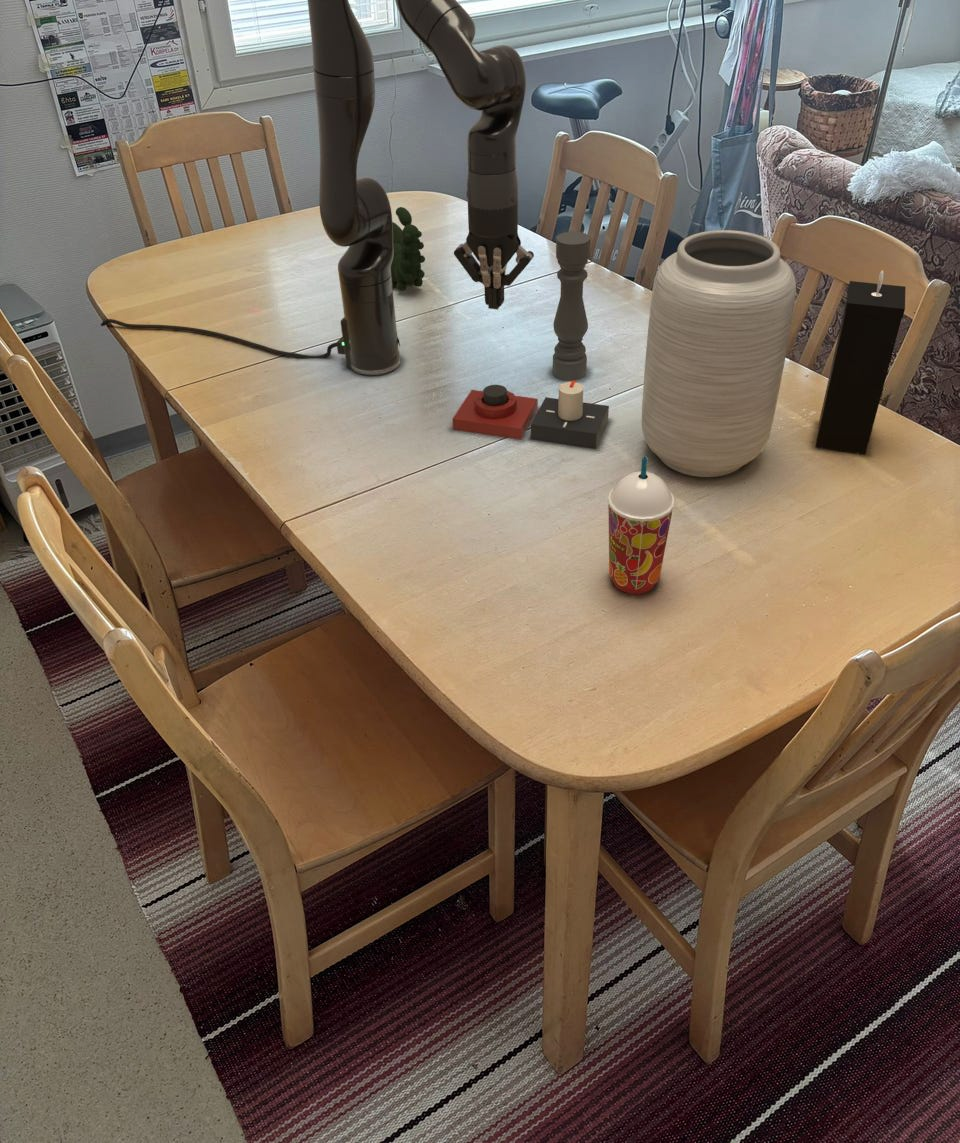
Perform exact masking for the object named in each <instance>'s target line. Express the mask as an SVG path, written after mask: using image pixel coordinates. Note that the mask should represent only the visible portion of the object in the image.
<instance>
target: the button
mask: <svg viewBox="0 0 960 1143" xmlns="http://www.w3.org/2000/svg"><path fill="white" fill-rule="evenodd" d="M482 391H483V400H484V403H485V404H486V405H488V406H501V405H504V404H506V403H507V391H508V389H507V387H505V385H502V384H489V385H486V386H485V387H484V388H483V390H482Z"/></svg>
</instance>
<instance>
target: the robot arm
mask: <svg viewBox="0 0 960 1143" xmlns="http://www.w3.org/2000/svg"><path fill="white" fill-rule="evenodd" d="M394 2H395V5H396V8H397V11H398V13H399V15H400V16H401V18H402V20H403V21H404V23H405V24H406V26H407V27H408V29H409V30H410V31H411V32H412V33H413V34H414V35H415V37H417V39H418V40H419V41H420V42H421V43H422V44H423V45H424V47H425V48H426V49H427V50H428V51H429V52H430V53H431V54H432V55H433V56H434V58H435V59H436V61H437V62H436V63H437V65H438V66H439V68H440V70H441V72H442V74H443V76H444V78H445V80H446V82H447V83H448V85H449V87H450V89H451V90H452V93H453V94H454V96H455V97H456V98H457V99H458V101H460V102H461V103H462V104H463V105H464V106H466V107H467V108H469V109H470V110H474V111H479V112H481V114H480V117H479V118H478V120H476V122H474V124H473V125H472V126H470V128H469V129H468V132H467V141H466V142H467V144H466V145H467V146H466V147H467V179H466V199H467V221H468V222H467V223H468V224H467V226H468V233H467V236H466V239H465V242H463V243H460V244H459V245H458V246H457V247H456V248H455V250H454V251H453V255H454V256H455V258H456V260H457V261H458V262H459V263H460V265H461V266H462V267H463V269H464V270H465V272H466V273H467V274H468V276H469V277H470V279H471V280H472V281H473V282H474V283H480V284H482V285H483V287H484V303H485V305H487V306H488V310H489V309H490V310H497V311H498V310H499V308H500V307H502V306H503V304H504V303H505V286H507V287H509V286H511V285H512V283H513V282H514V281H515V280H516V279H517V278H518V277H519V276H520V275H521V273H522V272H523V271H524V270H525V269H526V268H527V266H528V265H529V264H530V262H532V260H533V258H534V257H535V253H534V252H533V251H531V250H528V251H527V250H526V249H525V248H524V247H523V246H522V245H521V244H522V241H521V238H520V237H519V232H518V230H519V213H518V212H519V198H518V197H519V194H518V193H519V190H518V188H519V186H518V185H519V184H518V182H519V181H518V175H517V143H516V142H517V141H516V139H517V132H518V129H519V125H520V121H521V116H522V112H523V108H524V102H525V96H526V90H527V74H526V67H525V64H524V61H523V59H522V57H521V55H520V54H519V53H518V51H517V50H516V49H515V48H513V47H511V46H510V45H504V44H502V45H501V44H500V45H496V46H493V47H490V48H486V49H484V50H481V51H478V50H477V49H476V48H475V47H474V45H473V41H474V40H475V36H476V24H475V22H474V20H473V18H472V17H471V16H470V14H469V13H468V12H467V11H466V10H465V8H464V7H463V6H462V5H461V4H460V3H459V2H458V1H457V0H394ZM307 8H308V17H309V18H308V19H309V26H310V28H309V29H310V36H311V47H312V68H313V81H314V91H315V101H316V110H317V111H316V112H317V125H318V142H319V143H318V144H319V197H318V198H319V199H318V200H319V215H320V220H321V224H322V227H323V229H324V232H325V234H326V235H327V237H328V239H330V241H331V242H332V243H333V244H335V245H336V246H339V247H342V248H347V247H348V248H347V250H345V252H344V254H343V255H342V256H341V258H340V259H339V260H338V263H337V273H338V279H339V281H338V282H339V287H340V295H341V302H342V310H343V317H342V318H341V320H340V329H341V336H340V338H339V339H338V340H337V341H336V342H333V343H331V344H329V345H328V346H327V348H326V352H325V353H323V354H319V355H310V354H309V355H307V354H303V353H297V352H292V351H285V350H279V349H276V348H272V347H270V346H269V347H268V346H265V345H263V344H259V343H257V342H253V341H249V340H246V339H243V338H239V337H236V336H232V335H229V334H226V333H221V332H218V331H213V330H208V329H204V328H203V329H202V328H197V327H189V326H181V325H168V324H137V323H136V324H135V323H127V322H124V321H120V320H117V319H114V318H106V319H104V320H103V321H102V322H101V323H100V327H104V326H106V325H107V324H115V325H118V326H120V327H123V328H128V329H129V328H130V329H157V330H158V329H159V330H174V331H184V332H185V331H186V332H192V333H198V334H204V335H210V336H214V337H218V338H222V339H226V340H229V341H234V342H237V343H240V344H242V345H246V346H249V347H253V348H255V349H259V350H263V351H266V352H268V353H269V352H270V353H272V354H275V355H280V356H285V357H293V358H298V359H302V360H303V359H307V360H308V359H310V360H311V359H327V358H328V357H330V356H331V355H332V349H334V348H336V349H337V354H338V355H344V358H345V364H346V365H345V366H346V369H350V370H352V371H353V372H354V373H356V374H359V375H364V376H380V375H385V374H388V373H390V372H392V371H395V370H396V369H397V368H398V367H399V366H400V365H401V356H400V349H399V348H400V346H401V345H400V339H399V336H398V330H397V319H396V308H395V299H394V298H395V297H394V290H393V289H394V288H392V278H391V264H392V261H393V255H394V249H393V225H392V222H393V212H392V206H391V202H390V199H389V196H388V193H387V192H386V190H385V188H384V187H383V185H381V183H380V182H378V181H377V180H375V179H374V178H372V177H360V178H357V177H358V176H357V171H358V161H359V160H358V159H359V155H360V152H361V148H362V145H363V142H364V139H365V137H366V134H367V131H368V128H369V125H370V123H371V120H372V116H373V113H374V108H375V102H376V83H375V82H376V81H375V80H376V78H375V62H374V55H373V51H372V50H373V49H372V47H371V45H370V42H369V40H368V38H367V36H366V33H365V32H364V30H363V28H362V27H361V24H360V22H359V21H358V18H356V15H355V13H354V12H353V9H352V6H351V4H350V2H349V0H307ZM515 254H516V257H515V263H516V265H515V266H514V267H513V269H511V271H510V272H509V273H507V272H506V271H507V267H508V263H509V262H510V261H511V259H512V258H513V257H514V256H515ZM506 273H507V274H506Z"/></svg>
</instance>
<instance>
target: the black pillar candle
mask: <svg viewBox="0 0 960 1143" xmlns="http://www.w3.org/2000/svg"><path fill="white" fill-rule="evenodd" d="M884 274H885V273H884V270H881V271H879V275H878V281H877V283H873V282H864V281H854V280H850V281H849V283H848V288H847V292H846V299H845V303H844V308H843V314H842V317H841V322H840V327H839V330H838V331H839V332H838V335H837V339H836V344H835V349H834V353H833V358H832V362H831V366H830V372H829V375H828V379H827V384H826V390H825V394H824V398H823V403H822V407H821V412H820V416H819V420H818V427H817V431H816V432H817V433H816V439H815V446H814V447H815V448H820V449H822V450H823V449H825V450H832V451H839V452H846V453H853V454H857V455H860V454H861V455H866V454H867V450H868V447H869V443H870V440H871V439H870V438H871V435H872V431H873V428H874V424H875V420H876V417H877V413H878V408H879V405H880V402H881V398H882V394H883V391H884V386H885V383H886V379H887V375H888V372H889V367H890V365H891V360H892V358H893V354H894V350H895V346H896V341H897V337H898V335H899V330H900V326H901V323H902V320H903V318H904V315H905V311H906V286H903V285H894V284H885V283H883V282H884Z"/></svg>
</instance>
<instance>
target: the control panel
mask: <svg viewBox="0 0 960 1143" xmlns="http://www.w3.org/2000/svg"><path fill="white" fill-rule="evenodd" d="M558 399H559V398H555V397H547V396H545V398H544V399H543V400H542V403H541V405H540V406H539V407H538V410H537V412H536V414H535V415H534V417H533V419H532V421H531V423H530V440H532V441H539V442H545V443H552V444H559V445H565V446H566V445H567V446H571V447H572V446H573V447H579V448H585V449H586V448H587V449H591V450H592V449H594V450H596V449H597V447H598V446H599V443H600V440H601V438H602V436H603V434H604V432H605V429H606V427H607V425H608V423H609V415H610V414H609V412H610V405H606V404H598V403H591V402H584V401H583V414H582V417H581V418H580V419H578V420H574V421H567V420H563V419H561V418H560V417H559V415H558Z"/></svg>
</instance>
